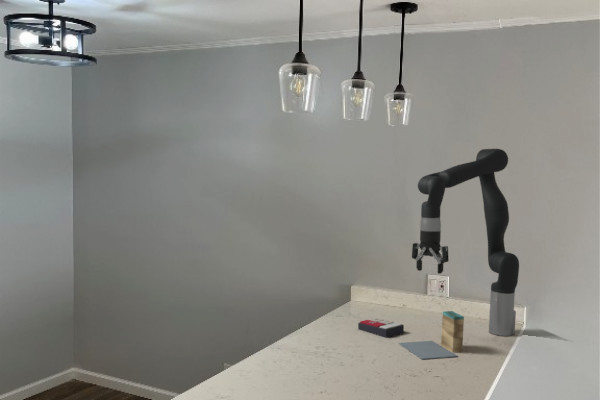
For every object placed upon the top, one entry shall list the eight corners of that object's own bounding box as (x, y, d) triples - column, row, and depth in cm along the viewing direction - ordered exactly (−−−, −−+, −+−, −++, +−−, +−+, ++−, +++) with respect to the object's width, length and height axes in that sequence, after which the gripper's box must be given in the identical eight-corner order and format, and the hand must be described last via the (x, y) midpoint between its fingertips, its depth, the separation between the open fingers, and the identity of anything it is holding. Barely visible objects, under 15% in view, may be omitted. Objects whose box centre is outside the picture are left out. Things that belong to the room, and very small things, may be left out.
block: (450, 345, 225) (452, 311, 224) (462, 351, 218) (463, 316, 217) (441, 345, 224) (442, 311, 223) (452, 352, 216) (454, 317, 216)
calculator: (375, 316, 250) (404, 323, 239) (375, 327, 250) (404, 333, 239) (357, 321, 243) (386, 327, 231) (357, 331, 243) (386, 338, 232)
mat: (432, 341, 229) (432, 340, 228) (457, 356, 211) (457, 355, 211) (398, 343, 224) (398, 342, 224) (422, 359, 207) (422, 358, 207)
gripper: (452, 230, 222) (451, 273, 224) (418, 226, 232) (418, 268, 233) (442, 231, 217) (441, 275, 218) (408, 228, 226) (407, 270, 228)
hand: (429, 271), depth 226 cm, fingers open, 8 cm apart
